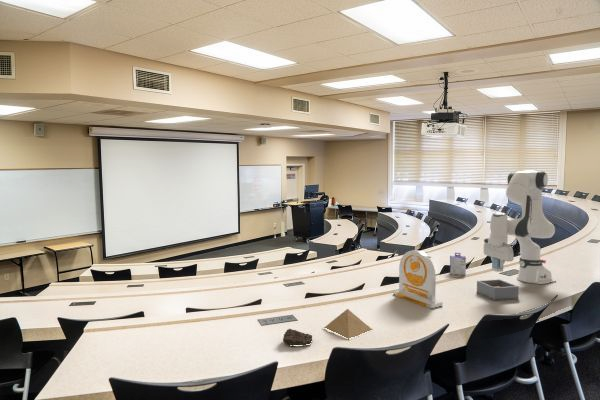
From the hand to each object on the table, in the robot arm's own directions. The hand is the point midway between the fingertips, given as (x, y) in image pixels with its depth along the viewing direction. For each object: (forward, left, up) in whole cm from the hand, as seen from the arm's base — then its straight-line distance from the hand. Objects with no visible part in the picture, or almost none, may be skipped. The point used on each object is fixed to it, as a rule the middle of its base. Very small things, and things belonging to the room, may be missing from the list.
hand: (497, 266), depth 222 cm
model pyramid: (+98, +27, -18) cm, 103 cm away
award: (+48, -3, -17) cm, 51 cm away
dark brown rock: (+122, +36, -17) cm, 129 cm away
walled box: (0, 0, -17) cm, 17 cm away
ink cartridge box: (-7, -48, -17) cm, 52 cm away
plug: (0, 0, -3) cm, 3 cm away
